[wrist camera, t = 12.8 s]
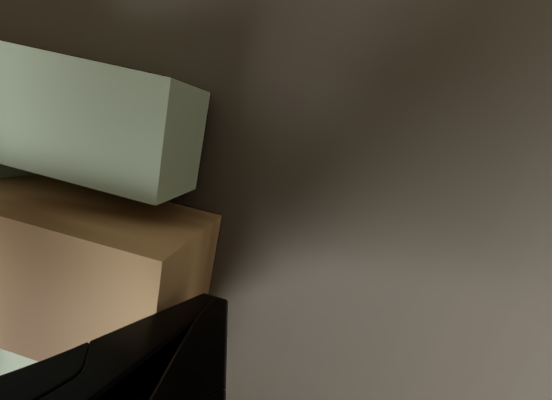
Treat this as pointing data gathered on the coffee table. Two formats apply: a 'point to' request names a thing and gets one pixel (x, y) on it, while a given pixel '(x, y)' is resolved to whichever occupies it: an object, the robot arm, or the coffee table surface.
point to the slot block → (97, 129)
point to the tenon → (92, 262)
